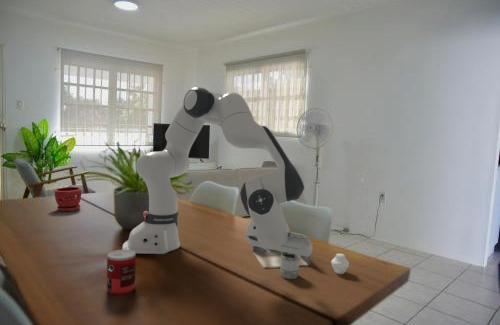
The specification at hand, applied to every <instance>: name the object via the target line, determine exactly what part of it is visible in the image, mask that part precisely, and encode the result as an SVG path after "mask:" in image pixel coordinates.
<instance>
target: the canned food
mask: <svg viewBox="0 0 500 325" xmlns="http://www.w3.org/2000/svg"><path fill="white" fill-rule="evenodd" d="M136 254H137V253H135V252H134V251H132V250H126V249H122V248H121V249H116V250H112V251H110V252H108V253H107V256H106V289H107V292H108V293H109V294H110V295H114V294H116V296H123V295H127V294H131V293H132V292H133V291H134V290H135V287H136V265H137V264H136V260H137V259H136V256H137V255H136ZM122 294H123V295H122Z"/></svg>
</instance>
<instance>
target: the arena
mask: <svg viewBox="0 0 500 325" xmlns="http://www.w3.org/2000/svg"><path fill="white" fill-rule="evenodd" d="M282 253H284V252H282V251H277V250H273V251H272V253H269V252H267V250H265V249H264V248H262V247H257V246H253V245H252V254H253V256H254V257H255V258H256V260H257V261H258V263H259V264H260V265H261V267H262V269H264V270H265V269H278V268H281V255H282ZM311 263H312V254H311V255H310V256H308V257H306V256H300V260H299V268H300V267H311V266H312V264H311Z"/></svg>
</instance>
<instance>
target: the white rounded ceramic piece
mask: <svg viewBox="0 0 500 325" xmlns="http://www.w3.org/2000/svg"><path fill="white" fill-rule="evenodd" d="M346 257H347V256H346V255H345V254H344V253H336V254H335V256H334V258H332V260H331V262H330V263H331V266H332V268H333V271H334V273H335V274H337V275H343V274H345V272H346V271H347V270H348V268H349V266H350V262H349V261H348V259H347V258H346Z"/></svg>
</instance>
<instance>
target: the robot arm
mask: <svg viewBox="0 0 500 325" xmlns="http://www.w3.org/2000/svg"><path fill="white" fill-rule="evenodd" d="M252 113H253V112H252V111H251V109H250V107H249V105H248V103H247V102H246V100H245V99H244V97H243V96H242V95H241V94H239V93H237V92H228V93H225V94H224V95H223V94H221V93H219V92H215V91H211V90H208V89H206V88H204V87H197V86H196V87H192V88H190V89H189V90H188V91H187V93H186V94H185V96H184V98H183V103H182V105H181V106H180V107H179V109H178V111H177V112H176V113H175V115H174V116H173V118H172V121H171V122H170V124H169V126H168V128H167V130H166V132H165V134H164V136H165V140H166V145H165V147H164V149H163V150H162V151H161V150H160V151H149V152H147V153H144V154H142V155H140V156H139V157H138V159H137V160H136V164H135V167H136V168H135V169H136V172H137V174H138V176H139V177H140V178H142V180H143V181H144V182H145V183H144V184H145V185H146V187H147V190H148V207H149V208H148V211H147V210H145V211H143V214H142V216H143V221H142V222H141V223H140V224H138V225H137V226H136V227H134V228H133V229H132V230H131V231H130V232H129V237H128V240H125V242H124V243H123V244H122V248H121V250H122V249H126V250H132V251H134V252H135V254H144V255H145V254H150V255H151V254H152V255H153V254H154V255H155V254H156V255H165V254H167V253H168V252H171V251H175V250H177V249H179V248H180V247H181V242H180V238H179V230H178V225H179V212H178V193H177V191H176V190H175V189H174V188H173V186H172V183H171V178H175V177H179V176H181V175H184V174H185V173H186V172H187V171H188V170H189V168H190V159H189V155H190V151H191V148H192V146H193V144H194V142H195V141H196V139H197V137H198V136H199V134H200V132H201V130H202V128H203V126H204V125H205V124H206V123H207V124H212V125H217V126H220V127H221V130H222V133H223V135H224V139H225V141H227V143H228V144H230V145H231V146H233V147H235V148H239V149H260V150H265V151H267V152H268V153H269V155H270V156H271V158H272V160H273V161H274V164H275V165H276V166H277V169H275V170H273V171H271V172H267V173H265V174H263V175H259V176H256V177H253V178H251V179H249V180H246V181H245V182H243V185H242V186H241V189H240V193H239V194H240V199H241V202H242V203H241V204H242V206H243V208H244V210H245V212H246V214H247V215H248V216H249V217H250V218H251V219H250V221H249V222H248V225H247V228H246V231H245V238H246V240H247V242H248V243H249V244H250V245H251V246H252V247H253V246H257V247H262V248H264V249H265V250H267V252H269V253H272V251H273V250H277V251H282V252H287V253H292V254H295V255H294V257H295V258H298V259H300V256H306V257H308V256H310V255H311V256H312V252H313V248H314V246H313V243H312V241H311V240H310V238H309V237H308V236H307V235H305V234H304V233H303V234H302V233H297V232H292V231H291V230H290V227H289V224H288V222H287V220H286V217H285V216H284V211H283V208H282V207H281V204H283V203H286V202H291V201H295V200H299V199H300V197H301V196H302V194H303V192H304V190H305V184H304V180H303V176H302V175H301V173H300V172H299V171H298V169H296V167H295V166H294V165H293V163H292V162H291V160H290V159H289V158H288V155H287V154H286V153H285V151H284V149H283V148H282V146H281V145H280V144H279V142H278V140H277V138H276V137H275V135H274V134H273V132H272V130H270V129H269V128H268V127H267V126H266V125H261V124H259V123H258V122H257V121H256V120H255V119H254V116H253V114H252Z"/></svg>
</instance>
